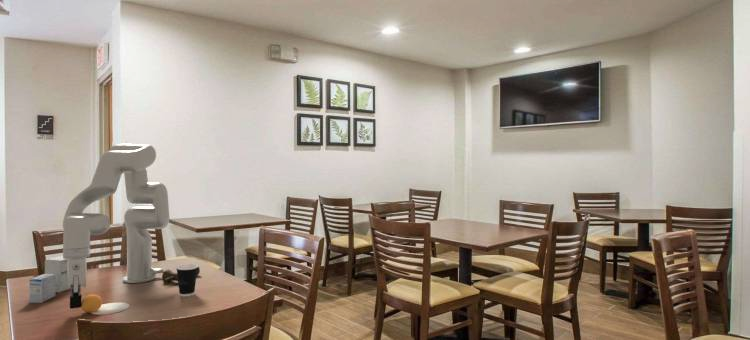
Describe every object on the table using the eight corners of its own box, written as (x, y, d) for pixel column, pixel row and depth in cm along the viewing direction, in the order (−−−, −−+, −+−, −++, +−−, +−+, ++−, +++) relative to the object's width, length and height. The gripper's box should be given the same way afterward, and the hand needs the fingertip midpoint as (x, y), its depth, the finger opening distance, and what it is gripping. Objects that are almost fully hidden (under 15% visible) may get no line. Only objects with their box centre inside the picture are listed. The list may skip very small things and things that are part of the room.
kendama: (205, 277, 201) (174, 288, 181) (186, 276, 203) (154, 286, 184) (205, 263, 201) (174, 273, 181) (186, 262, 203) (154, 272, 184)
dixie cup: (197, 290, 178) (197, 263, 178) (198, 296, 171) (198, 267, 170) (175, 293, 174) (175, 265, 174) (176, 299, 167) (176, 269, 167)
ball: (85, 310, 154) (104, 303, 157) (84, 318, 149) (104, 310, 152) (78, 296, 152) (98, 288, 155) (78, 303, 147) (98, 295, 150)
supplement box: (59, 292, 173) (59, 260, 172) (44, 291, 174) (43, 259, 174) (76, 287, 180) (76, 256, 180) (60, 286, 181) (60, 255, 181)
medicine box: (43, 296, 168) (43, 273, 168) (55, 296, 168) (55, 273, 168) (29, 303, 160) (28, 279, 160) (42, 303, 161) (42, 279, 160)
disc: (127, 301, 164) (127, 300, 164) (130, 310, 154) (130, 310, 154) (88, 306, 157) (88, 306, 157) (89, 317, 147) (89, 316, 147)
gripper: (90, 255, 145) (89, 311, 145) (89, 248, 158) (88, 300, 158) (62, 257, 141) (61, 315, 141) (63, 250, 154) (62, 303, 153)
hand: (75, 307), depth 149 cm, fingers closed
